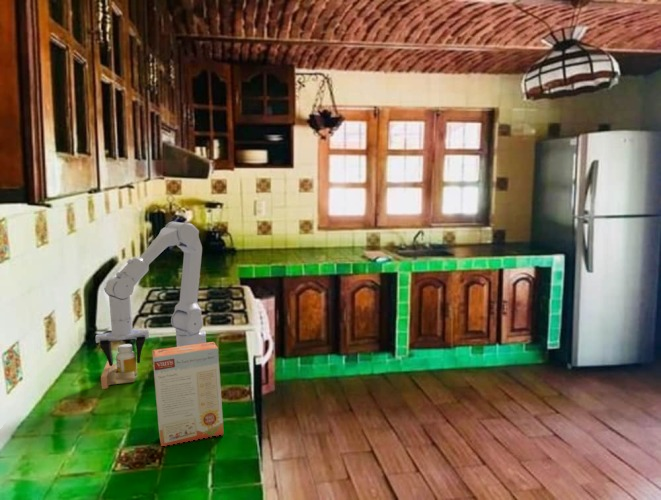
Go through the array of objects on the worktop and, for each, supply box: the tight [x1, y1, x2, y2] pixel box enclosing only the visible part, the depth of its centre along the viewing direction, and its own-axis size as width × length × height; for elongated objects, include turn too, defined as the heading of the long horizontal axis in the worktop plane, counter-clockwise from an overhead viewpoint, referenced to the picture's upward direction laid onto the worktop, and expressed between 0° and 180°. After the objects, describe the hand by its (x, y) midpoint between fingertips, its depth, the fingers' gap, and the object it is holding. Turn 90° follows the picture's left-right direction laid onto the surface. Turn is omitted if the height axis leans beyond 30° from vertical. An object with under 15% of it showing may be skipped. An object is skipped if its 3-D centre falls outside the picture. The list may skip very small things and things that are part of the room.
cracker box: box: [151, 341, 225, 447], centre depth 129 cm, size 14×6×21 cm, turn 110°
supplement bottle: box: [115, 343, 138, 379], centre depth 168 cm, size 5×5×10 cm
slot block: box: [108, 361, 138, 386], centre depth 168 cm, size 7×10×3 cm
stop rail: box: [100, 360, 111, 390], centre depth 167 cm, size 2×14×4 cm, turn 14°
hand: (125, 363), depth 168 cm, fingers open, 7 cm apart
